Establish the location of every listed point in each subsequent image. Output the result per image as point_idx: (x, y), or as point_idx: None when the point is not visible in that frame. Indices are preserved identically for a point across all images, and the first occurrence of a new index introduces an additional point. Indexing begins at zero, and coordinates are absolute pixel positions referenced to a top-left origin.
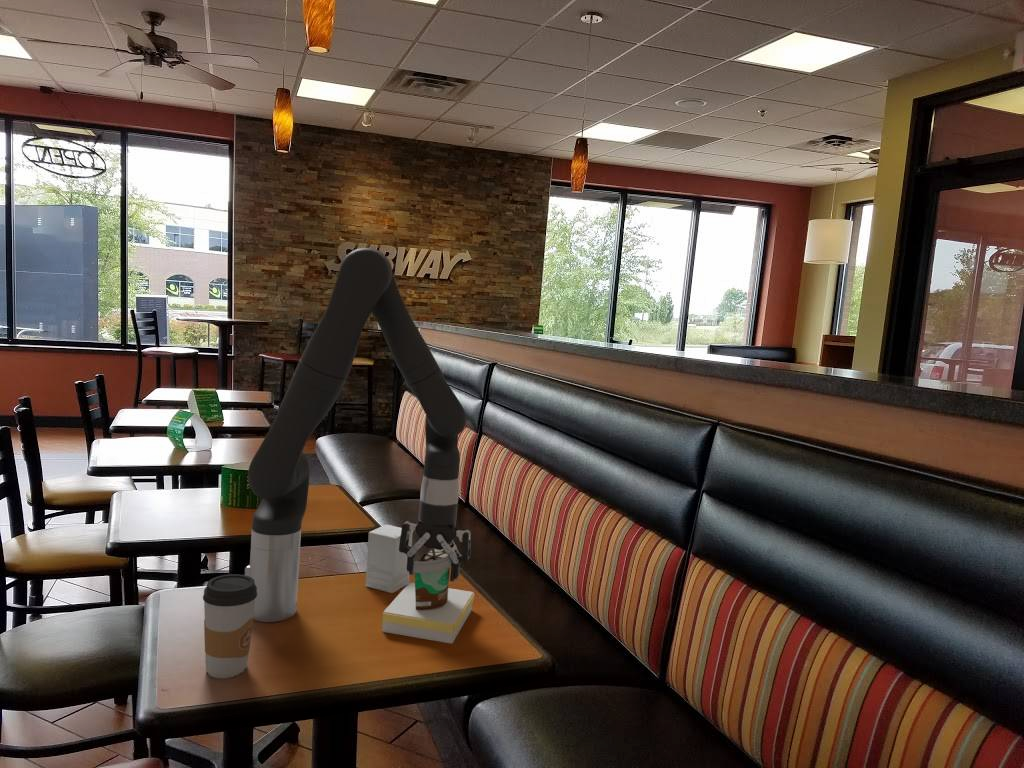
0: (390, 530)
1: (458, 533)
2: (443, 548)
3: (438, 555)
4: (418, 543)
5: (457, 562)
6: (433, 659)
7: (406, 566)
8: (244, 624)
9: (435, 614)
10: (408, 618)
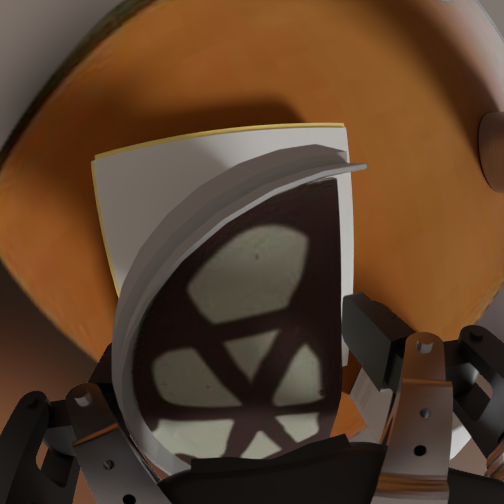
0: (453, 448)
1: None
2: (173, 475)
3: (241, 434)
4: (434, 418)
5: (73, 389)
6: (134, 67)
7: (372, 412)
8: None
9: (173, 189)
10: (253, 127)
